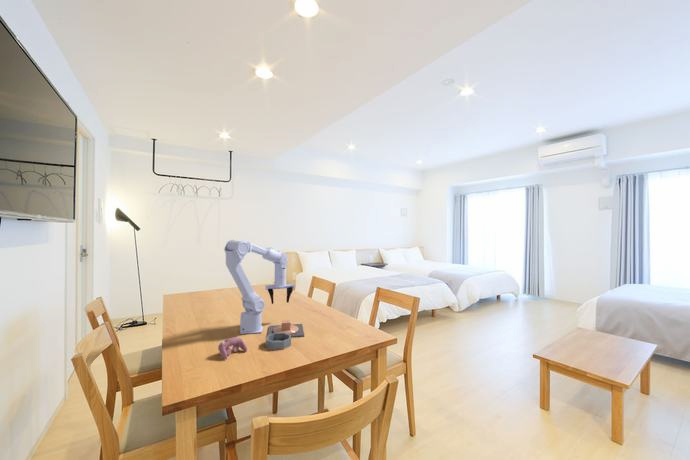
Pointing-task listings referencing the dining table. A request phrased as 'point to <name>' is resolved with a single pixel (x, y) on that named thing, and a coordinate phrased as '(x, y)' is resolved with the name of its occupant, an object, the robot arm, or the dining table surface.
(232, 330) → the dining table surface
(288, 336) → the bowl
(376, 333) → the dining table surface
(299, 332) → the mat
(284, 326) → the lid
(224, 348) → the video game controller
